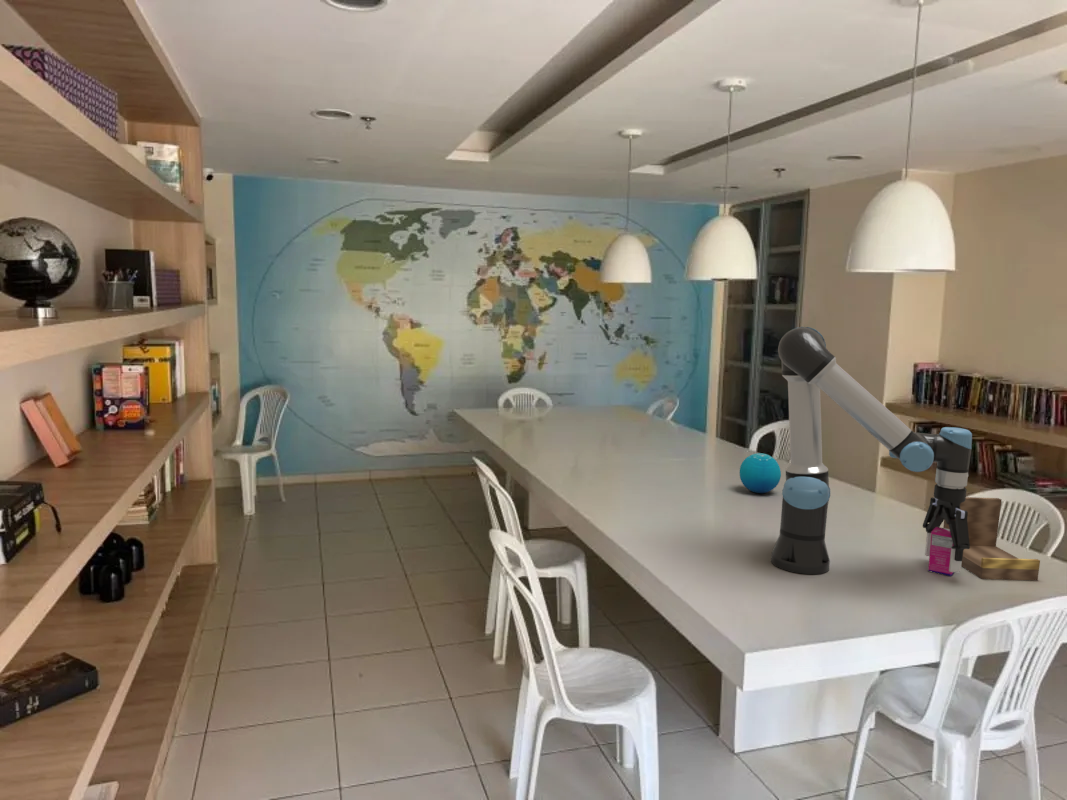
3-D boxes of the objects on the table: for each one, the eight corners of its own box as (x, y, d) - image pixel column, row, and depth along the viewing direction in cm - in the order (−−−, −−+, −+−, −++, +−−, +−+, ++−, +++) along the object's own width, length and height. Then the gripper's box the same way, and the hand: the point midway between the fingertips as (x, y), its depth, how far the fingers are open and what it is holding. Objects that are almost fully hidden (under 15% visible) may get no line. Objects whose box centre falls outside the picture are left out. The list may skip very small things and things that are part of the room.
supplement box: (931, 565, 207) (935, 525, 205) (955, 571, 203) (960, 530, 201) (926, 571, 202) (931, 530, 200) (951, 576, 198) (955, 535, 197)
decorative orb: (774, 488, 287) (777, 450, 285) (783, 498, 272) (786, 458, 270) (734, 486, 289) (737, 448, 287) (741, 496, 274) (744, 456, 272)
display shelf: (981, 578, 198) (988, 517, 195) (940, 553, 217) (946, 496, 215) (1037, 580, 198) (1045, 518, 195) (991, 554, 217) (998, 498, 215)
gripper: (991, 497, 187) (982, 580, 190) (940, 475, 211) (932, 549, 214) (962, 496, 187) (952, 579, 190) (914, 474, 211) (906, 548, 214)
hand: (942, 563), depth 202 cm, fingers open, 11 cm apart
